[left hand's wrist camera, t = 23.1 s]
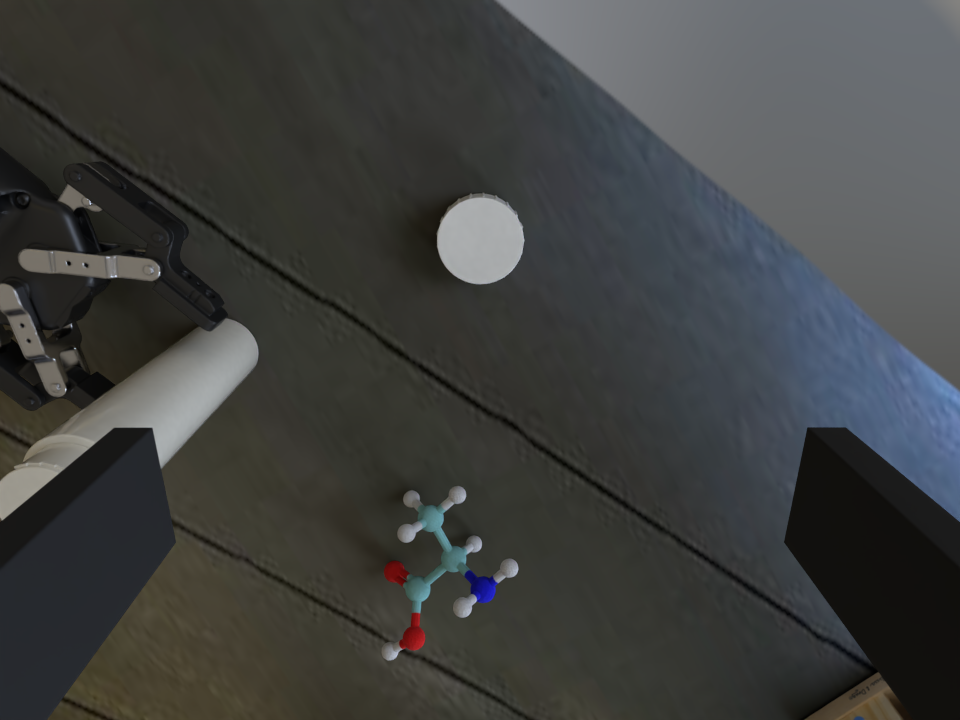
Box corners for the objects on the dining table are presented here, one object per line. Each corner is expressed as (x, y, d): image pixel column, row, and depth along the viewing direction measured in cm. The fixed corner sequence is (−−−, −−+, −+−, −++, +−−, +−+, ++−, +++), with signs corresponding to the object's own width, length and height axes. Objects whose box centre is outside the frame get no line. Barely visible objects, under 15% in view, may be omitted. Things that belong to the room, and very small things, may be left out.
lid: (473, 173, 39) (473, 176, 37) (539, 228, 40) (543, 234, 38) (421, 242, 41) (418, 248, 38) (487, 293, 42) (487, 302, 40)
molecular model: (332, 497, 43) (393, 614, 36) (454, 447, 47) (530, 544, 40) (351, 593, 50) (405, 706, 43) (456, 542, 54) (521, 639, 47)
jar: (269, 370, 44) (122, 542, 26) (209, 387, 44) (22, 567, 26) (242, 309, 42) (66, 447, 24) (180, 327, 43) (-38, 475, 25)
